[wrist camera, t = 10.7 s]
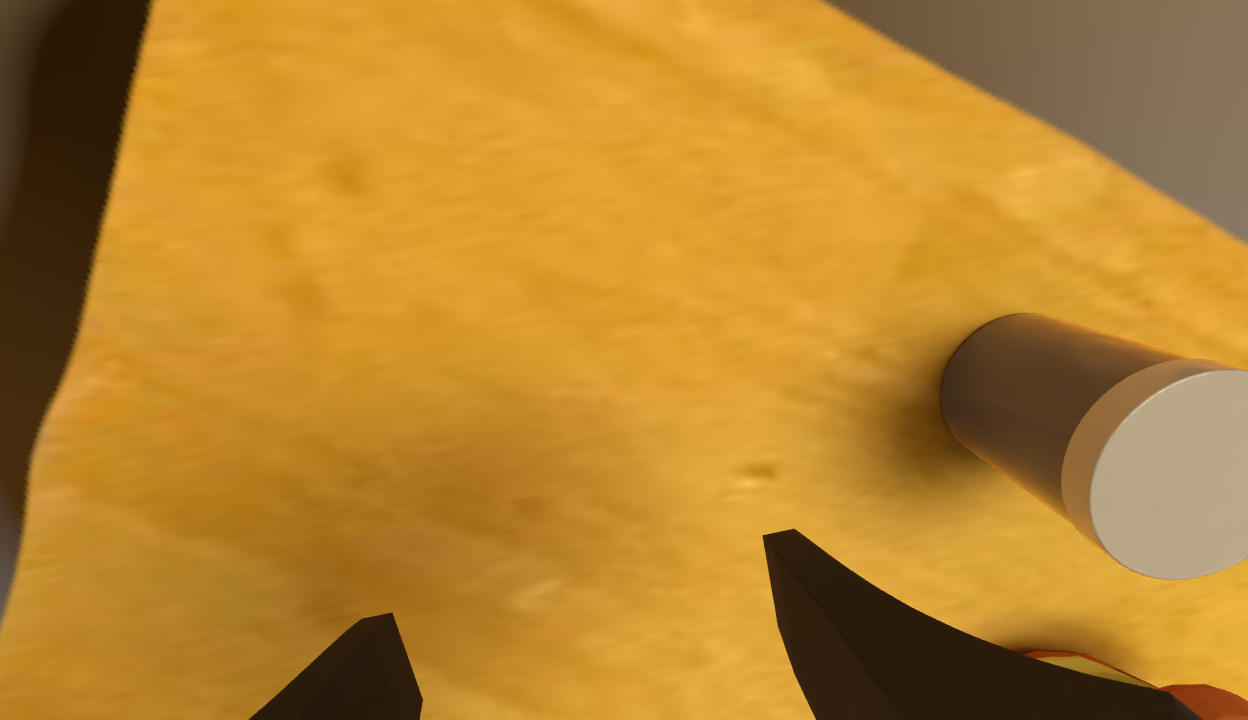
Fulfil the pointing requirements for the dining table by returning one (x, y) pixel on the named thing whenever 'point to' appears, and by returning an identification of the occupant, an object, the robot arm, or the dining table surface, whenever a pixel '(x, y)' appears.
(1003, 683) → the robot arm
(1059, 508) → the spice jar
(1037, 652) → the cheeseburger
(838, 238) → the dining table surface
